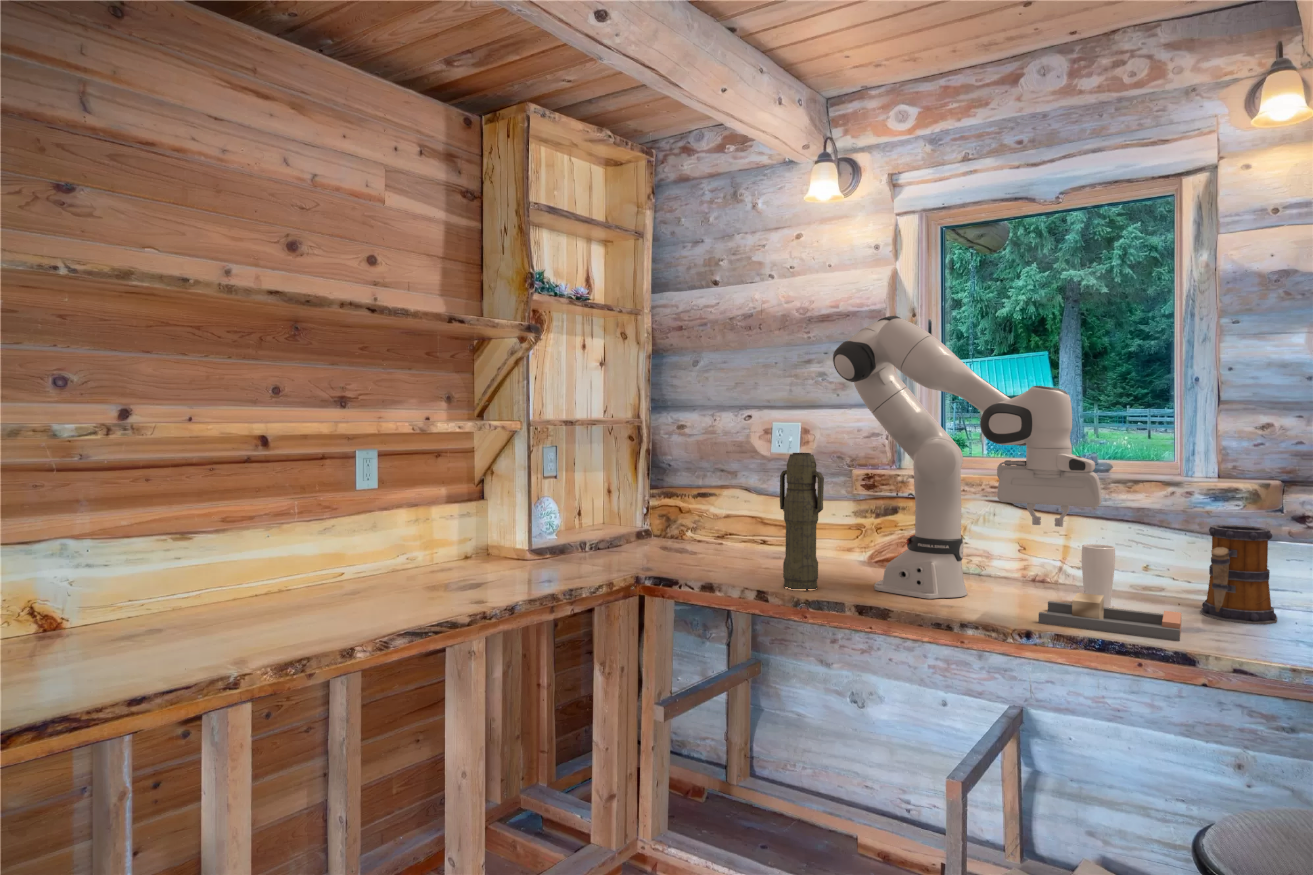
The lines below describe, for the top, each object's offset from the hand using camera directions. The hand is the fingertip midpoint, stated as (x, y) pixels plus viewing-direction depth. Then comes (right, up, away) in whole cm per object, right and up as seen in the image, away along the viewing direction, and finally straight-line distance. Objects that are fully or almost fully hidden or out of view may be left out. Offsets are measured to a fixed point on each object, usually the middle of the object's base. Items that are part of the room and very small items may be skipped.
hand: (1047, 525), depth 179 cm
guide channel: (+10, -21, -6) cm, 24 cm away
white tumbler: (+17, -21, +12) cm, 30 cm away
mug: (+44, -21, +6) cm, 50 cm away
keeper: (+7, -20, -4) cm, 21 cm away
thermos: (-47, -20, +37) cm, 63 cm away
